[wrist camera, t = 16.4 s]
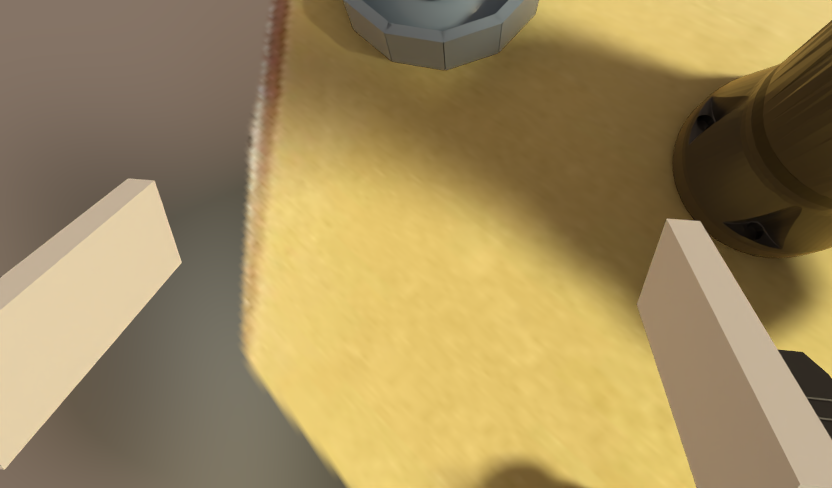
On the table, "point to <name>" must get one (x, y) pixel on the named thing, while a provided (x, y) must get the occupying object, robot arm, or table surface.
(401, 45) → the bowl
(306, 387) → the table surface
